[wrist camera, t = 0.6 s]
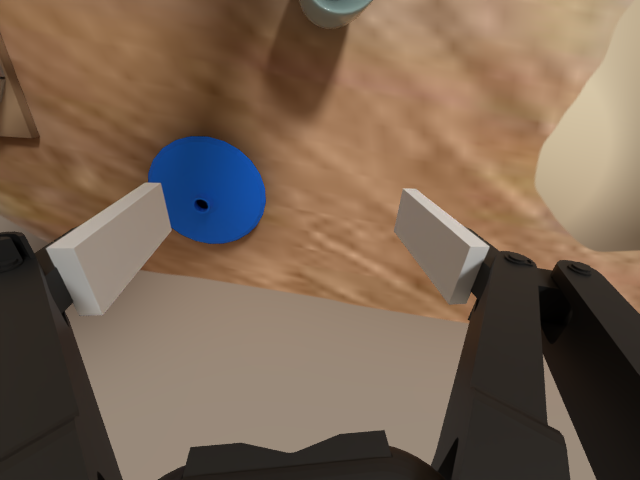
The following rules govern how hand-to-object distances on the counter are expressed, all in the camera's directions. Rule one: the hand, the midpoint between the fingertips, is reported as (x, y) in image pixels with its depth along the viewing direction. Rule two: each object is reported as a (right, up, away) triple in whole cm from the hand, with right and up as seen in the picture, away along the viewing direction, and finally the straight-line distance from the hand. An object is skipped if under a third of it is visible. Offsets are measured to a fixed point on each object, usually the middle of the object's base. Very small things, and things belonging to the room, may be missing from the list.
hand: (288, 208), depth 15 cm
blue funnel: (-14, +6, +26) cm, 30 cm away
